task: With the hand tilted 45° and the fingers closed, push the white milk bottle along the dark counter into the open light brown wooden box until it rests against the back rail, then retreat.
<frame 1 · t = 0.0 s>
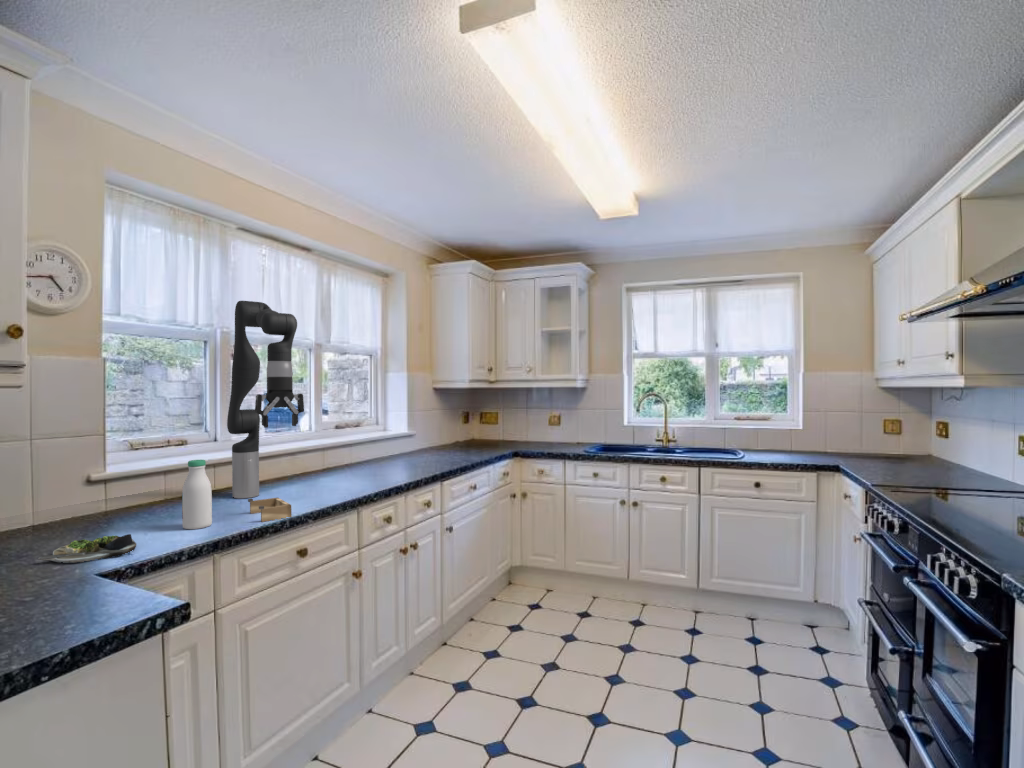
hand: (280, 426, 170), 29 cm above the counter, tool pointing down, fingers open, 8 cm apart
milk bottle: (197, 527, 162), on the counter
salad plate: (98, 554, 137), on the counter
light brown wooden box: (271, 515, 175), on the counter
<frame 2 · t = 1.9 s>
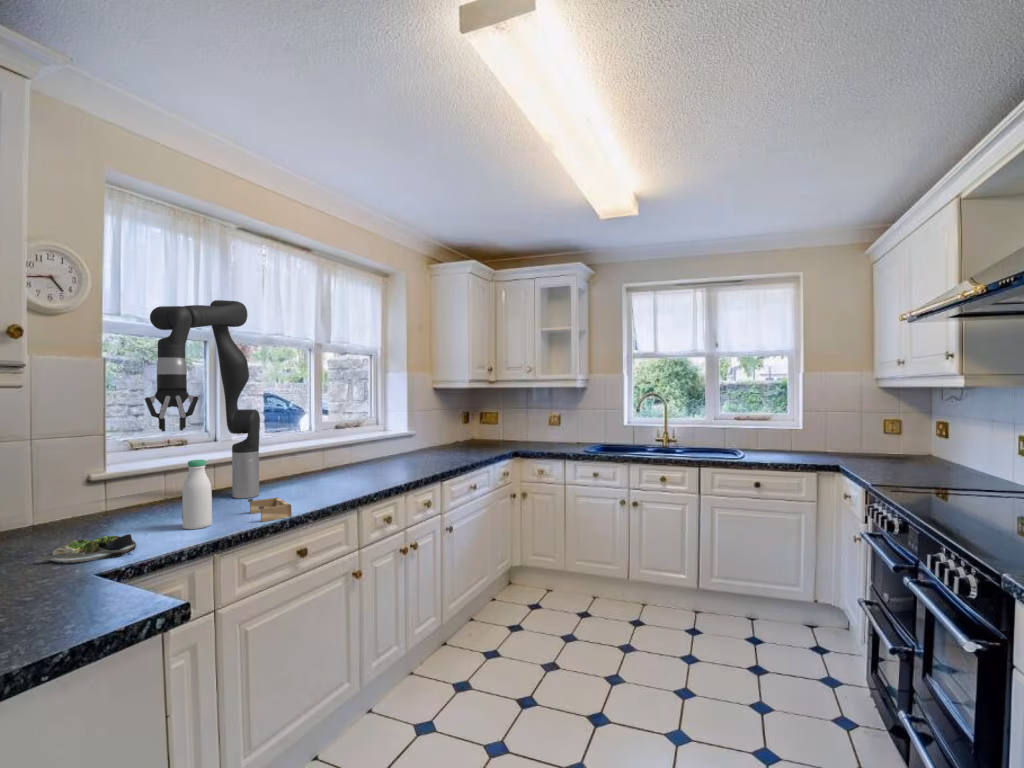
hand: (172, 430, 159), 29 cm above the counter, tool pointing down, fingers open, 4 cm apart
nothing on the counter moved.
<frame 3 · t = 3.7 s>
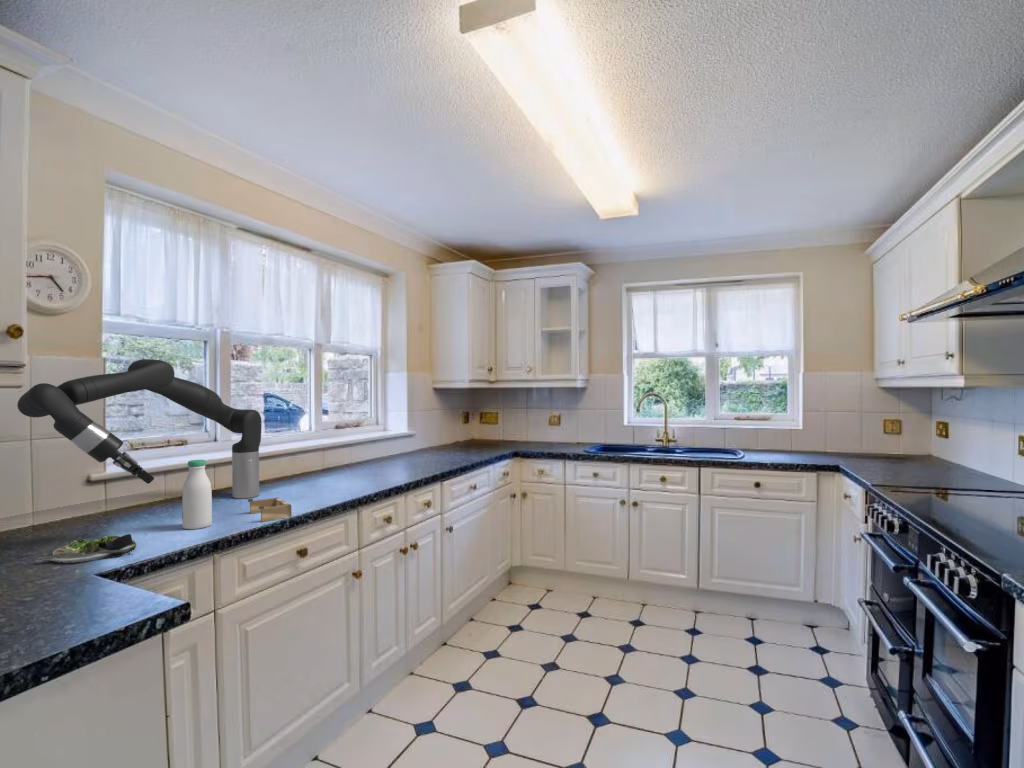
hand: (151, 480, 154), 15 cm above the counter, tool tilted 45°, fingers closed
nothing on the counter moved.
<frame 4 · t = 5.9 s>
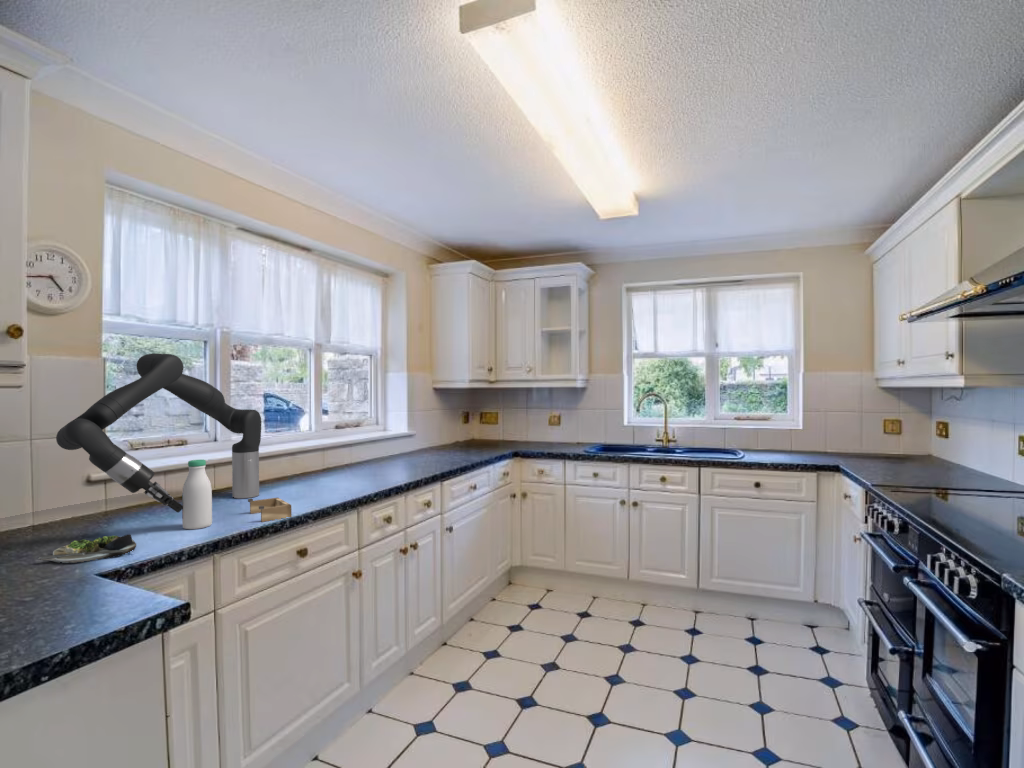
hand: (180, 509, 159), 6 cm above the counter, tool tilted 45°, fingers closed
milk bottle: (197, 527, 162), on the counter, touching gripper
everything else where it was.
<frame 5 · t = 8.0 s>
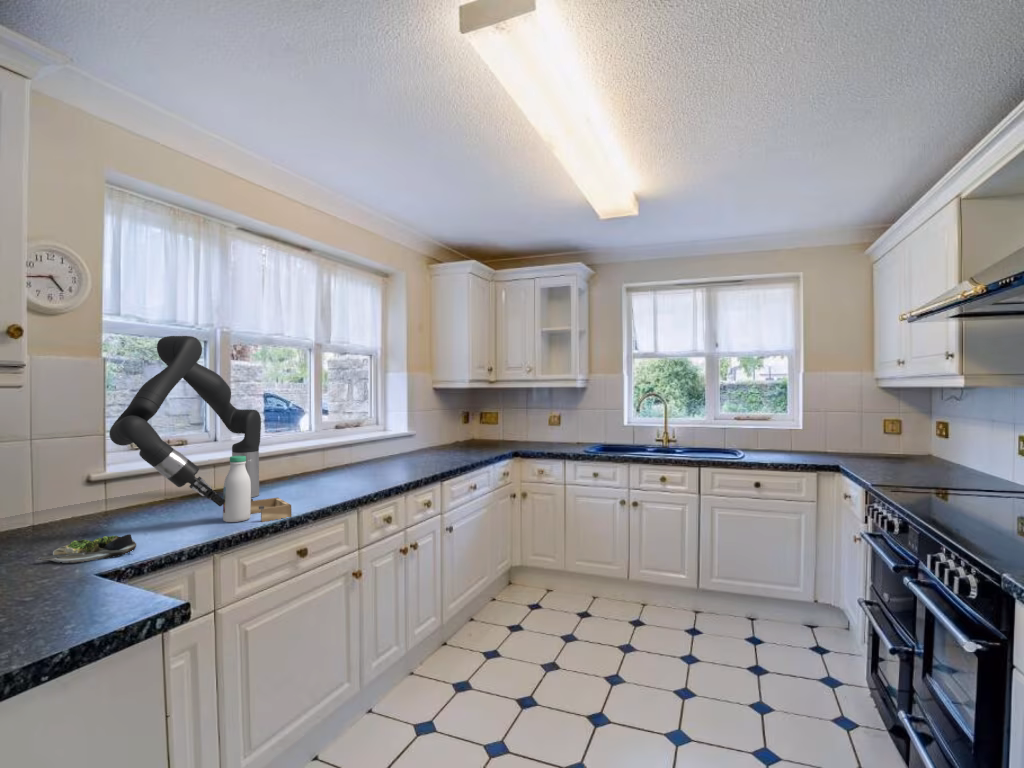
hand: (222, 503, 166), 6 cm above the counter, tool tilted 45°, fingers closed
milk bottle: (236, 520, 169), on the counter, touching gripper
everything else where it was.
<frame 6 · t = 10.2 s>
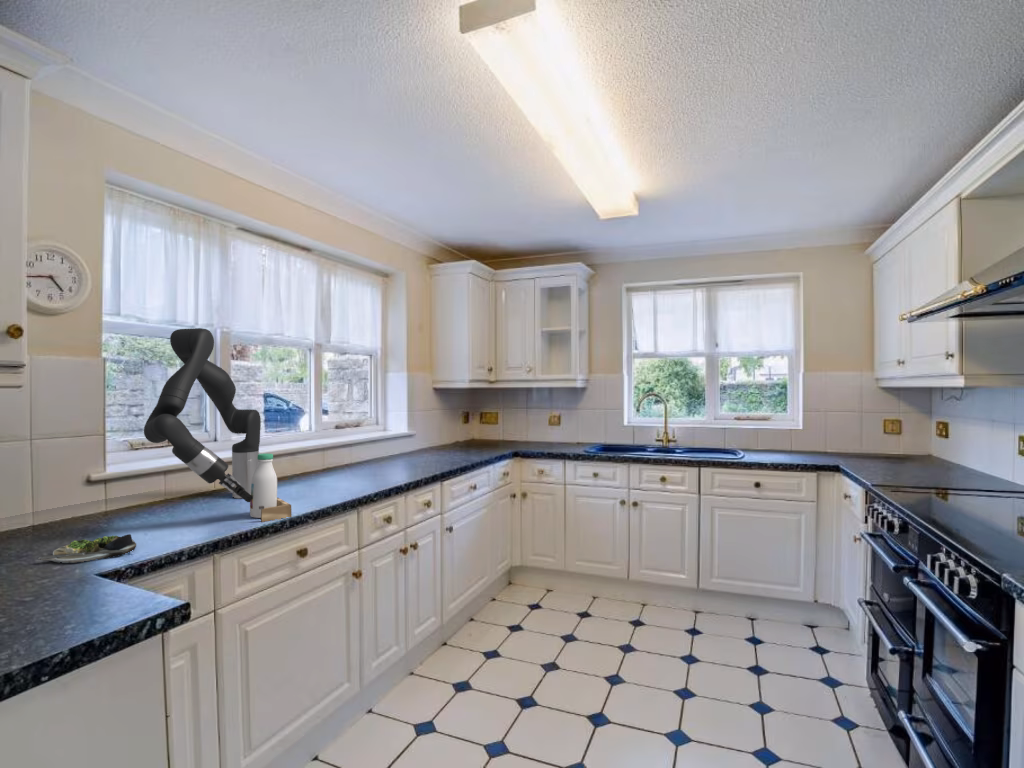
hand: (250, 499, 171), 6 cm above the counter, tool tilted 45°, fingers closed
milk bottle: (263, 516, 174), on the counter, touching gripper
everything else where it was.
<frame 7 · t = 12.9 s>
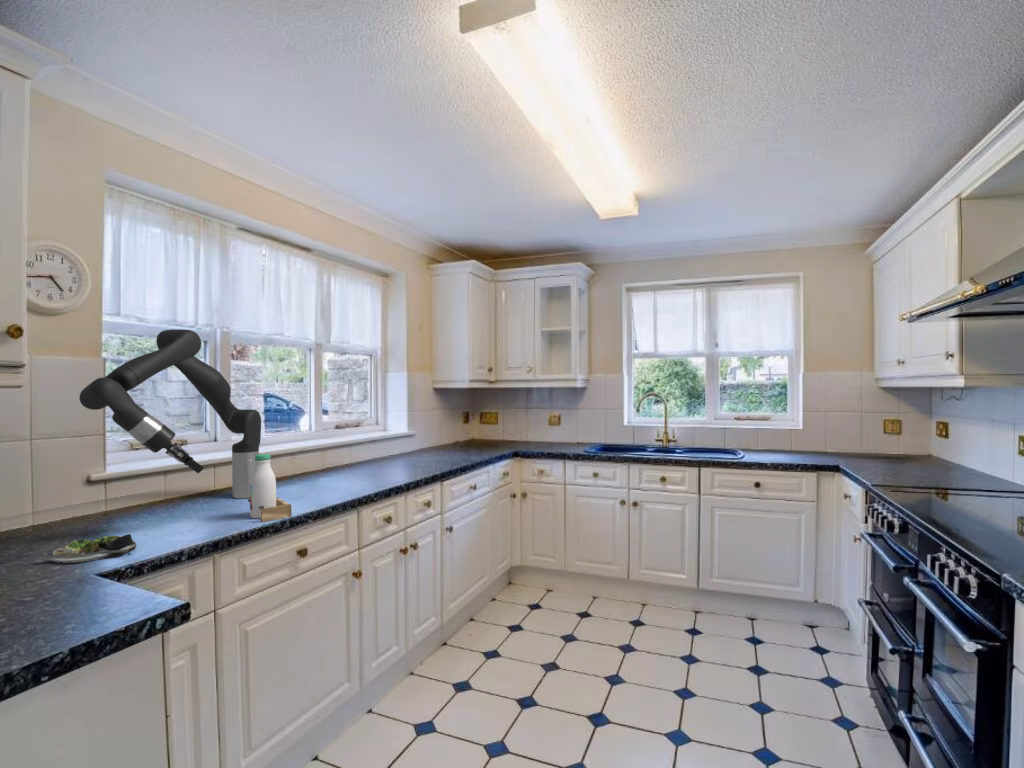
hand: (200, 470, 162), 17 cm above the counter, tool tilted 45°, fingers closed
milk bottle: (263, 516, 174), on the counter
everything else where it was.
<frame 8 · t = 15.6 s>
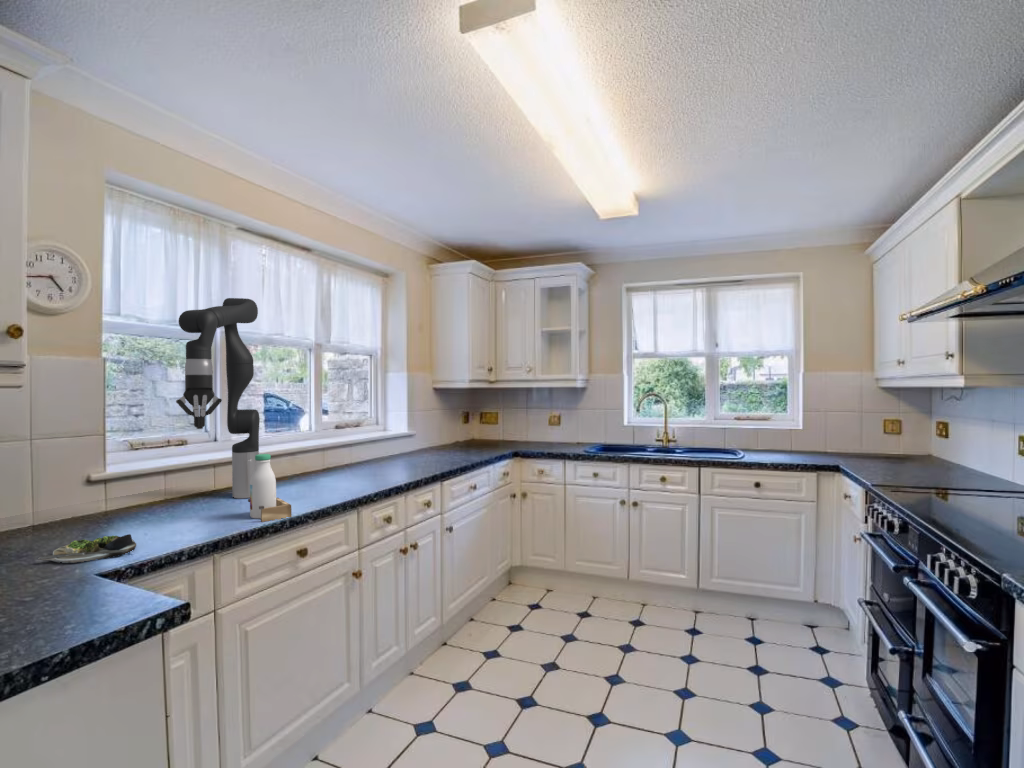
hand: (199, 428, 169), 29 cm above the counter, tool pointing down, fingers closed
nothing on the counter moved.
at the end: milk bottle inside the target area (0.4 cm from its centre), on the counter; milk bottle tilted 0°; milk bottle moved 18.7 cm from its start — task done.
